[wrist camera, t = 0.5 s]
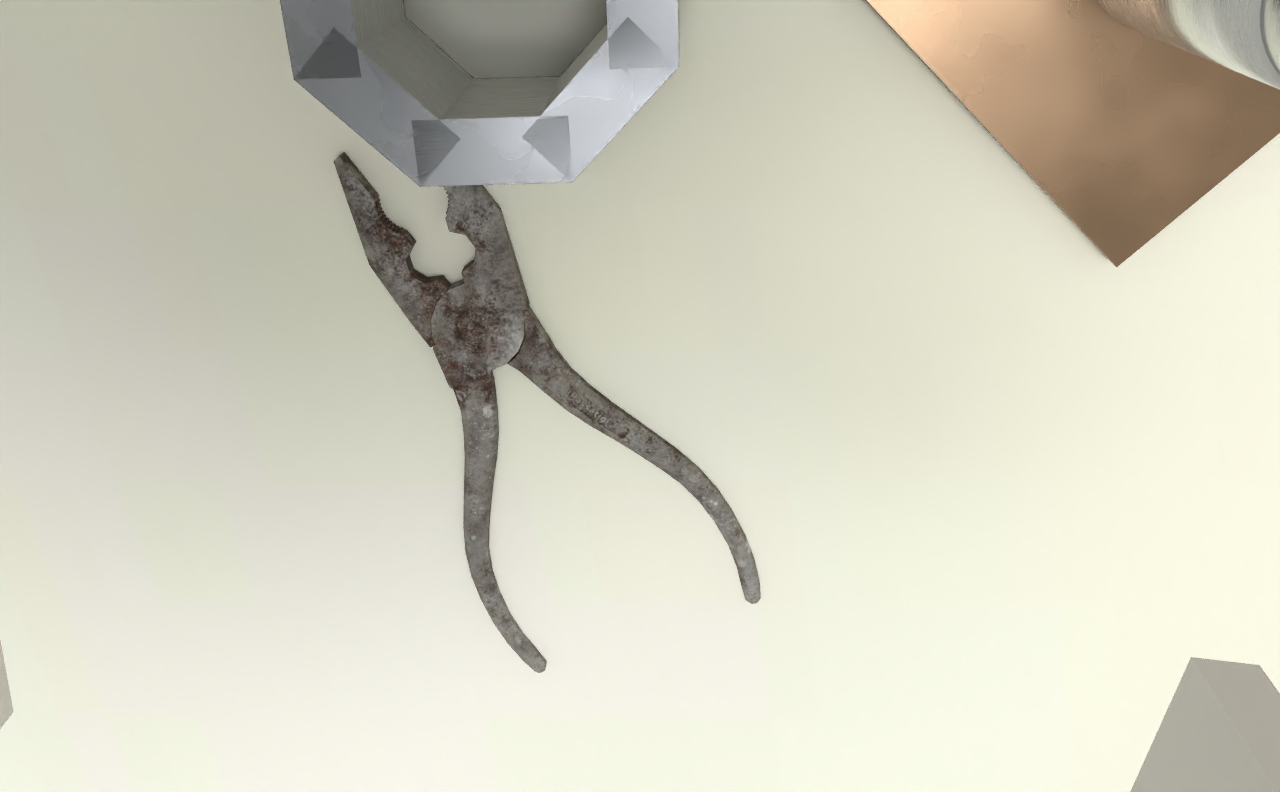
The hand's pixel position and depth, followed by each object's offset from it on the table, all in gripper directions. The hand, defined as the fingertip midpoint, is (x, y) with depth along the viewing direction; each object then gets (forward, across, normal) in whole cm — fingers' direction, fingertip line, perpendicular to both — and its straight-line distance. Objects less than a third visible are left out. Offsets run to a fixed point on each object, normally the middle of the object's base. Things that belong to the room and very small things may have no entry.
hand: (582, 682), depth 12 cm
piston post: (+22, +13, +8) cm, 26 cm away
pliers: (+22, -3, -10) cm, 24 cm away
